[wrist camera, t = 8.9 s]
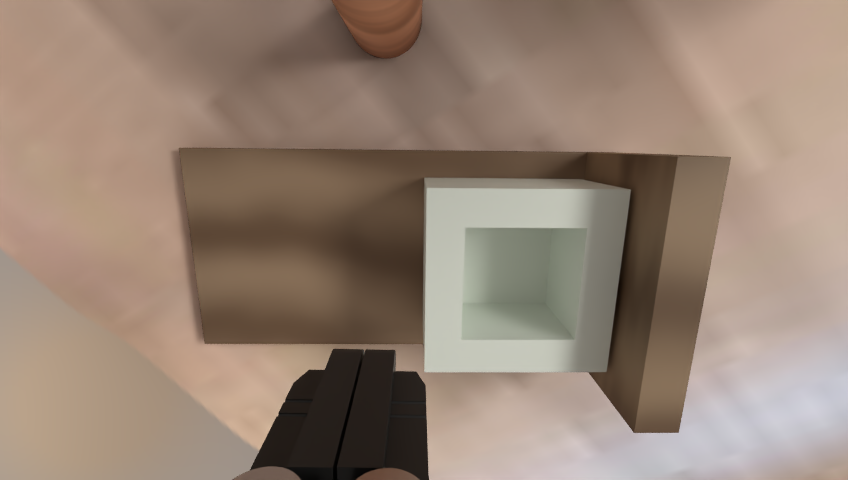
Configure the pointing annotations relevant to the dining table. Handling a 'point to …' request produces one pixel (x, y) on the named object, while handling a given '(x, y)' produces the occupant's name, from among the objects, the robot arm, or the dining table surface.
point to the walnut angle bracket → (404, 247)
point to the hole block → (520, 273)
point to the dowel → (382, 24)
